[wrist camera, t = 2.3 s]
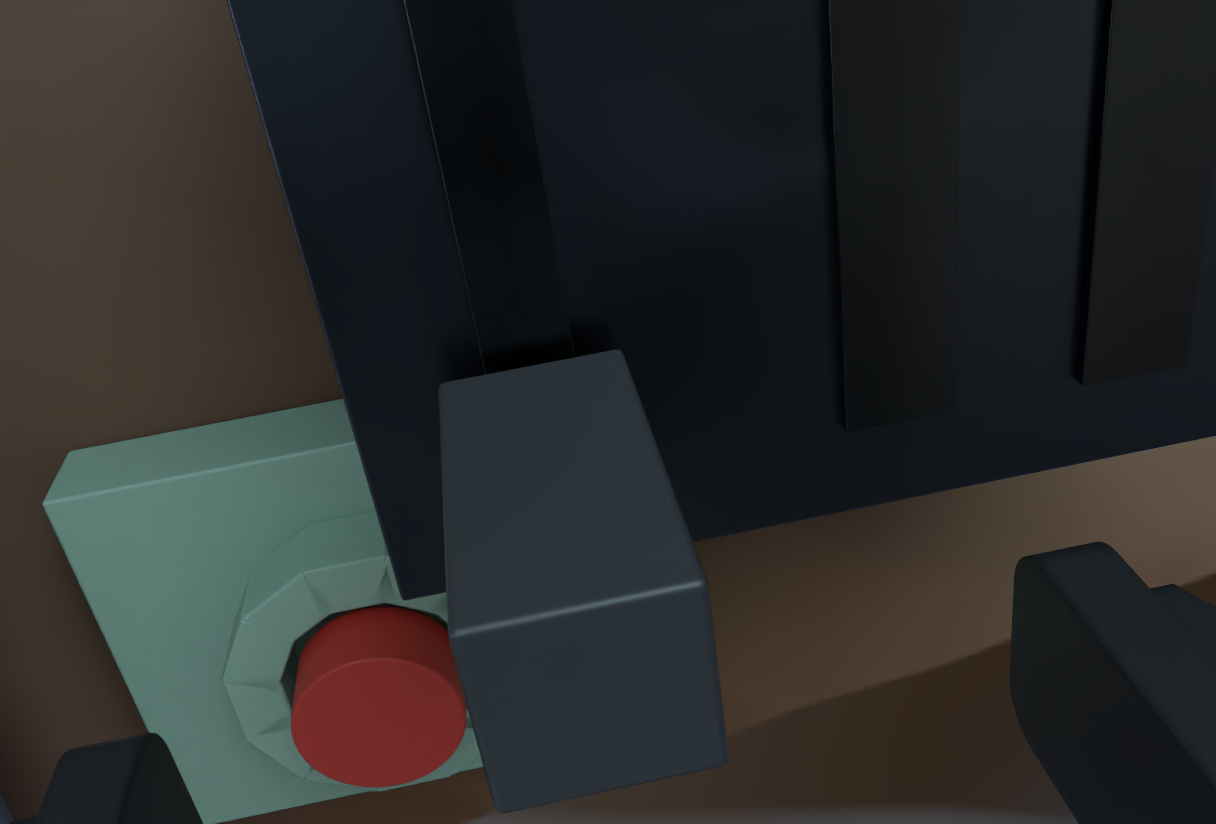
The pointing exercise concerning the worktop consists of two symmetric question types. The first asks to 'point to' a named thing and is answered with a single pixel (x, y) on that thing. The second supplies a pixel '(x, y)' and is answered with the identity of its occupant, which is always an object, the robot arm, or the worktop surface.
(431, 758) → the button
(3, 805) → the bluetooth speaker
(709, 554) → the worktop surface
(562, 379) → the slider
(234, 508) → the button block
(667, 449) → the toaster
